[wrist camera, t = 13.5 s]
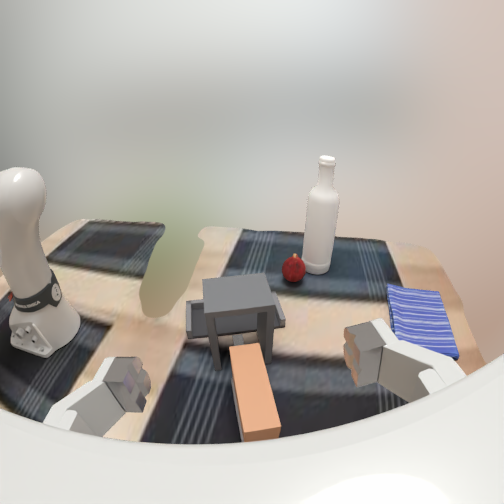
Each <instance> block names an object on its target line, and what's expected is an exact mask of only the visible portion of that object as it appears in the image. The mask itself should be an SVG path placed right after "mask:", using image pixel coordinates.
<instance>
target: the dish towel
mask: <svg viewBox="0 0 504 504" xmlns="http://www.w3.org/2000/svg"><path fill="white" fill-rule="evenodd" d="M387 298H388V307H389V315H390V323H391V330H392V332H393V333H394V334H395V336H396V337H397V338H398V340H399V341H401V340H404V341H407V342H410V343H412V344H415V345H418V346H421V347H423V348H426V349H429V350H432V351H434V352H437V353H440V354H443V355H446V356H449V357H451V358H452V359H453V360H457V359H458V358H459V353H458V350H457V346H456V343H455V340H454V336H453V333H452V330H451V327H450V323H449V320H448V317H447V315H446V311H445V309H444V306H443V303H442V300H441V296H440V294H439V292H438V291H427V290H418V289H409V288H403V287H399V286H395V285H391V284H387Z"/></svg>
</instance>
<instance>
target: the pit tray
mask: <svg viewBox="0 0 504 504" xmlns="http://www.w3.org/2000/svg"><path fill="white" fill-rule="evenodd" d="M271 293H272V296H273V299H274V302H275V319H274V329H275V328H282V327H285V320H286V319H285V316H284V313H283V311H282V308H281V305H280V303H279V300H278V297H277V295H276V292H275V291H272V292H271ZM215 323H216V330H217V336H222V335H231V334H239V333H247V332H254V331H257V313H252V314H244V315H236V316H227V317H218V318H215ZM186 332H187V336H188V339H191V338H202V337H208V331H207V326H206V320H205V314H204V300H203V299H202V300H192V301H186Z"/></svg>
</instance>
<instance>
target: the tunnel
mask: <svg viewBox="0 0 504 504" xmlns="http://www.w3.org/2000/svg"><path fill="white" fill-rule="evenodd" d="M202 281H203V300H204V314H205V320H206V326H207V331H208V337H209V342H210V347H211V352H212V357H213V363H214V367H215V371H216V370H222V369H221V361H220V353H219V345H218V337H217V330H216V323H215V318H218V317H227V316H236V315H244V314H252V313H257V336H258V340H259V343H260V347H261V351H262V355H263V359H264V363H265V364H269V363H271V359H272V347H273V333H274V319H275V302H274V299H273V296H272V293H271V291H270V288H269V285H268V282H267V279H266V276H265V274H264V273H257V274H248V275H239V276H230V277H220V278H211V279H202Z"/></svg>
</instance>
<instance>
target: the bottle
mask: <svg viewBox="0 0 504 504" xmlns="http://www.w3.org/2000/svg"><path fill="white" fill-rule="evenodd" d="M335 164H336V163H335V158H334V157H331V156H321V157H320V160H319V174H318V185H316V186H315V187H314V188H313V189H311V192H310V194H309V196H308V201H307V213H306V224H305V234H304V244H303V254H302V260H303V262H304V264H305V266H306V272H308V273H310V274H316V275H319V274H324V273H326V272H327V271H328V270H329V266H330V263H331V255H332V249H333V243H334V236H335V230H336V223H337V216H338V209H339V196H338V192H337V191H336V190H335V189H334V187H333V177H334V167H335Z"/></svg>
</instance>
